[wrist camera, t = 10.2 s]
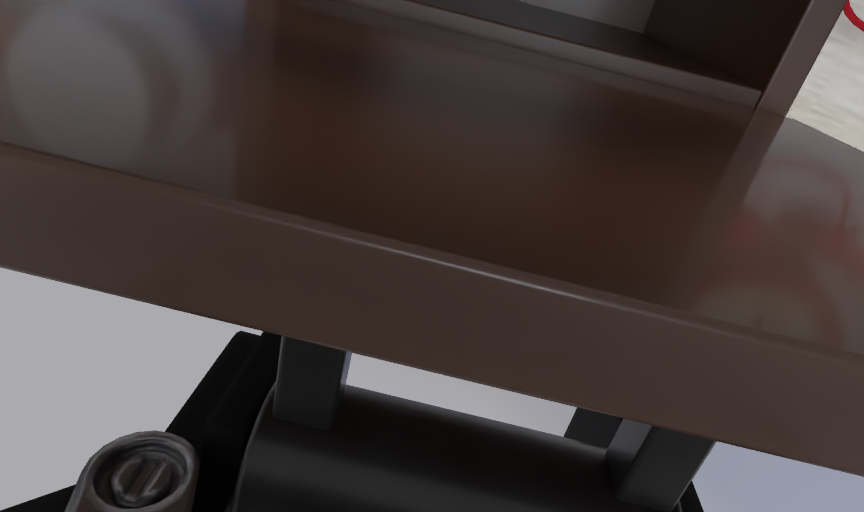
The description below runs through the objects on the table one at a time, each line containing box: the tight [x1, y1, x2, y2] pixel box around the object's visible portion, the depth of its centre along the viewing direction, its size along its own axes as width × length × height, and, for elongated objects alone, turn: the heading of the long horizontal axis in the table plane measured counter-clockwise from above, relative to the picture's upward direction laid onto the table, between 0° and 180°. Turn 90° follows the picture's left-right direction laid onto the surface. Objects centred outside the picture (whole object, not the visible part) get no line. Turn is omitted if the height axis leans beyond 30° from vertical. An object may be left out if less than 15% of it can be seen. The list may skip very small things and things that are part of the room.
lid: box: [0, 0, 864, 512], centre depth 9 cm, size 12×14×5 cm
